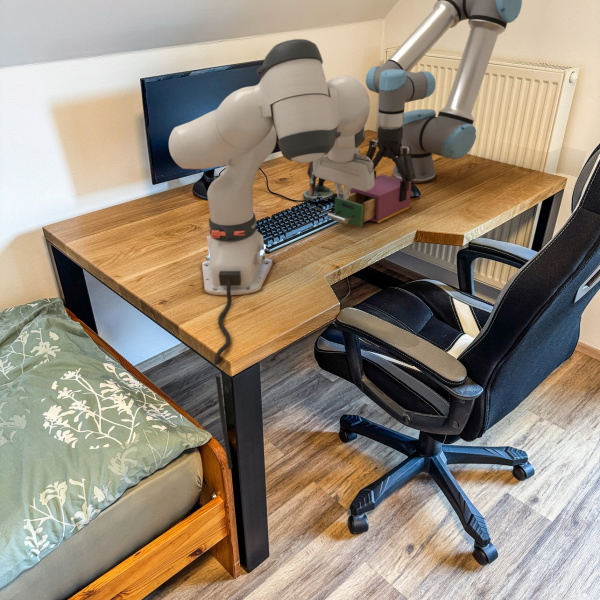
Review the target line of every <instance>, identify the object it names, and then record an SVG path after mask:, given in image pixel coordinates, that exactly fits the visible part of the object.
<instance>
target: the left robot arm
mask: <svg viewBox="0 0 600 600" xmlns="http://www.w3.org/2000/svg"><path fill="white" fill-rule="evenodd" d="M323 63H324V60H323V57H322V55H321V52H320V50H319V47H318V45H317V44H316V43H314V42H313V41H311V40H309V39H304V38H293V39H292V38H291V39H287V40H284V41H282V42H279V43H277V44H275V45H274V46H273V47H272V48H271V49H270V51H269V52H268V53H267V54H266V56H265V57H264V60H263V63H262V66H259V67H258V68H257V70H256V74H257V76H258V77H260V81H259V83H258V84H256V85H252V86H245V87H241V88H239V89H237V90H234V91H232V92H231V93H230V94H228V95H227V96H226V97H225V98H224V99H223V100H222V101H221V103H220V104H219V106H218V107H217V108H216V109H213V110H212V111H209V112H208V113H205V114H203V115H201V116H200V117H197V118H195V119H193V120H191V121H188V122H186V123H182V124H180V125H177V126H175V127H174V128H173V129H172V131H171V133H170V135H169V138H168V150H169V154H170V156H171V158H172V160H173V161H174V163H175V164H176V165H178V167H180V168H181V169H184V170H206V169H212V168H218V167H219V168H220V167H224V166H226V167H225V169H224V171H222V173H221V174H220V175H219V176H218V177H217V178H215V179H214V180H213V181H211V183H210V185H209V187H208V189H207V191H206V195H207V203H208V212H209V218H208V229H209V234H208V235H207V236H206V243H207V249H208V255H206V256H205V260H204V261H203V262H202V263H201V268H202V278H203V290H204V292H205V293H207V294H210V295H214V296H226V297H227V298H226V299H227V301H226V305H225V307H224V308H223V310H222V312H221V313H220V314H219V316H218V318H217V319H218V320H217V322H218V326H219V329H220V330H221V332H222V333H223V335H224V337H225V343H224V344H223V345H222V346H221V347H219V349H218V350H217V351H216V353H215V357H214V363H213V365H214V366H217V365H219V363H220V357H221V355H222V354H223V352H224V351H226V350H227V349H228V348H229V346H230V344H231V336H230V333H229V331H228V330H227V328H226V326H225V325H224V322H223V320H224V317H225V316H226V314H227V313H228V311H229V310H230V307H231V305H232V296H239V295H240V296H241V295H249V294H253V293H256V292H259V291H260V290H261V288H262V287H263V286H264V283H265V280H266V278H267V276H268V274H269V273H270V271H271V268H272V266H273V265H274V264H273V260H272V259H271V258H268V257H266V244H265V242H264V235H263V234H262V233H260V232H259V231H258V230H257V218H256V214H255V212H254V200H253V191H254V190H253V188H254V182H255V179H256V176H257V174H258V171H259V169H260V167H261V166H262V165H263V163H264V162H265V160H266V159H267V158H268V157H269V156H270V155H272V153H273V152H274V150H275V148H276V144H278V147H279V150H280V153H281V155H282V157H283V158H285V159H286V160H288V161H290V162H295V163H303V164H304V163H305V164H306V163H307V164H308V162H312V161H313V173H314V175H315V177H317V178H318V179H319V178H321V179H324V180H325V181H328V182H331V183H333V186H334V189H335V192H336V197H338V198H342V199H345V200H346V199H348V198H349V195H350V190H351V189H352V188H355V189H358V190H362V191H368V190H370V189H372V188H373V187H374V185H375V180H374V171H375V170H373V162H372V161H373V160H372V161H371V160H370V159H369V157H367V156H366V155H362V154H360V146H361V145H362V144H363V143H364V142H365V141H366V133H365V126H366V124H367V122H368V119H369V116H370V112H371V104H370V103H371V101H370V96H369V93H368V91H367V88H366V87H365V86H364V84H363V83H362V82H361V81H360V80H359V79H358V78H356V77H354V76H351V75H348V74H341V75H337V76H334V77H332V78H330V79H329V80H328V81H327V79H326V75H325V71H324V67H323ZM277 138H278V140H277ZM317 178H316V179H317ZM221 380H222V379H221V375H220V376H219V375H217V376H215V382H216V391H217V400H218V406H219V407H218V408H219V417H220V423H221V429H222V435H223V441H224V449H225V454H226V461H227V462H226V463H227V468H228V470H230V471H231V470H233V463H232V456H231V448H230V442H229V436H228V430H227V429H228V428H227V423H226V415H225V409H224V407H225V406H224V399H223V390H222V381H221Z"/></svg>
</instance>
